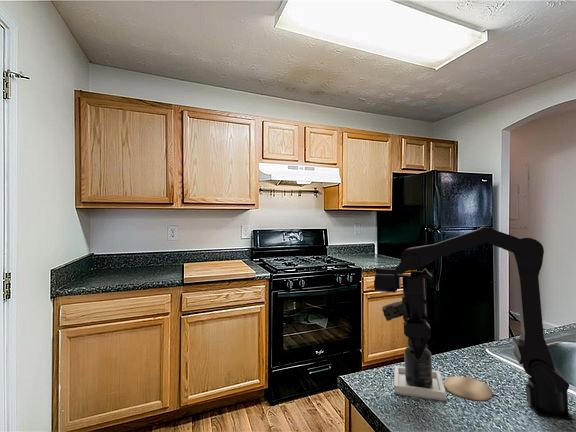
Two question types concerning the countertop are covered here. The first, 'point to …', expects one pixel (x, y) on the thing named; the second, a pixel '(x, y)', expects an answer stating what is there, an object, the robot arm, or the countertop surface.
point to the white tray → (404, 389)
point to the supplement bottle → (418, 368)
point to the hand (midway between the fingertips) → (416, 351)
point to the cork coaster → (467, 388)
